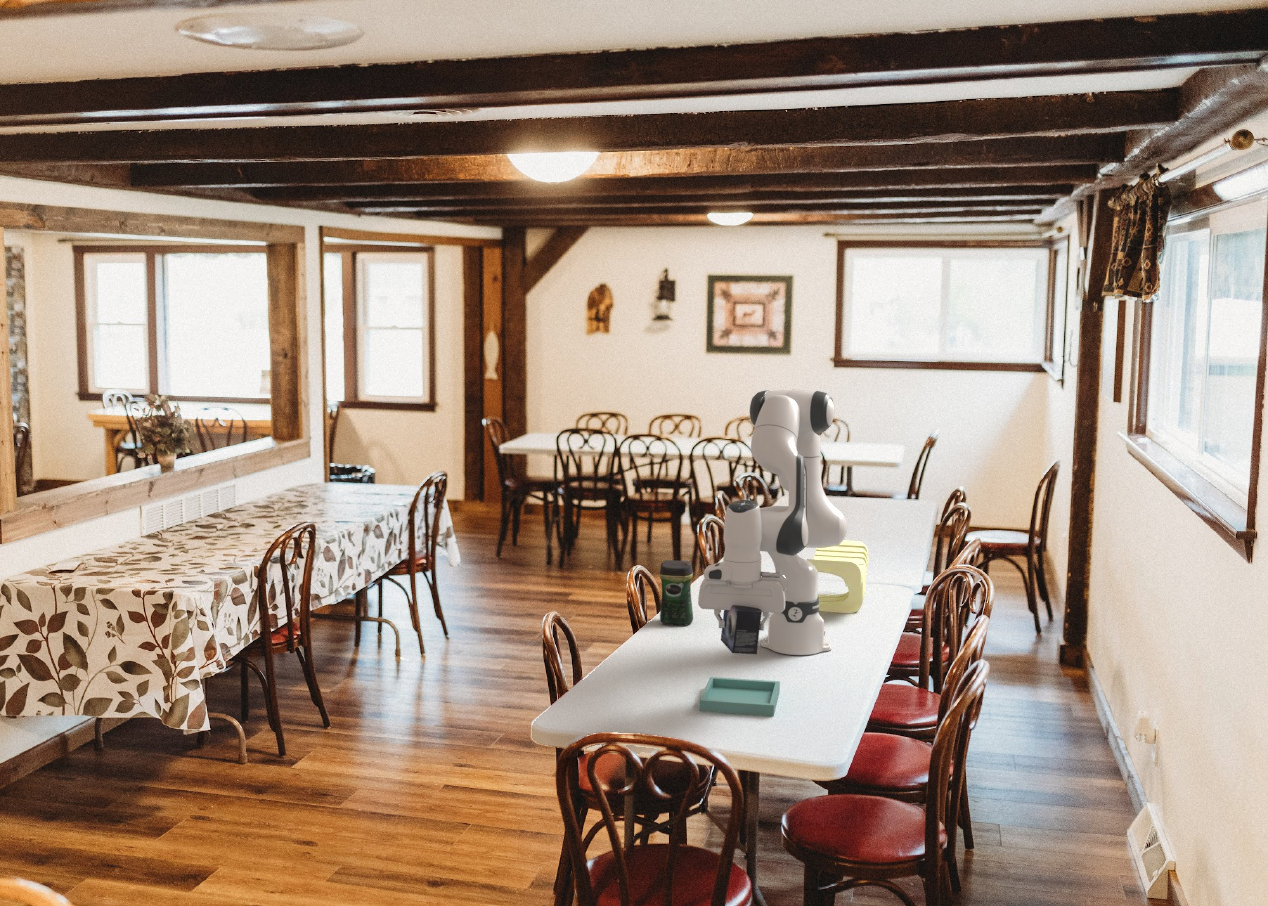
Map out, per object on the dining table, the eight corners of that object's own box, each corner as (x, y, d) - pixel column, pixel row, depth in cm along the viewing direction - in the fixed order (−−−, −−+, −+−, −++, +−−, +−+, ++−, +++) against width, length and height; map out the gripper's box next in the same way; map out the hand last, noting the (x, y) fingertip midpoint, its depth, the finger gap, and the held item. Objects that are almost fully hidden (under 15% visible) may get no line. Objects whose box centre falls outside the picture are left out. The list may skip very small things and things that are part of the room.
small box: (718, 640, 278) (723, 597, 277) (744, 641, 280) (749, 599, 278) (730, 653, 268) (736, 608, 267) (757, 654, 269) (763, 610, 268)
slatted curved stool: (859, 621, 344) (861, 562, 342) (805, 617, 348) (806, 559, 346) (867, 596, 373) (868, 541, 370) (816, 593, 377) (818, 538, 374)
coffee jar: (695, 620, 345) (695, 558, 342) (689, 627, 337) (690, 564, 335) (663, 618, 347) (663, 557, 345) (657, 625, 340) (657, 562, 337)
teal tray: (709, 687, 286) (709, 676, 285) (779, 691, 282) (779, 681, 282) (699, 711, 269) (699, 700, 269) (773, 716, 266) (773, 705, 266)
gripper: (788, 569, 273) (787, 627, 274) (701, 565, 277) (700, 622, 278) (786, 576, 267) (785, 635, 268) (697, 571, 271) (696, 629, 272)
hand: (741, 628), depth 273 cm, fingers closed on small box, 8 cm apart
